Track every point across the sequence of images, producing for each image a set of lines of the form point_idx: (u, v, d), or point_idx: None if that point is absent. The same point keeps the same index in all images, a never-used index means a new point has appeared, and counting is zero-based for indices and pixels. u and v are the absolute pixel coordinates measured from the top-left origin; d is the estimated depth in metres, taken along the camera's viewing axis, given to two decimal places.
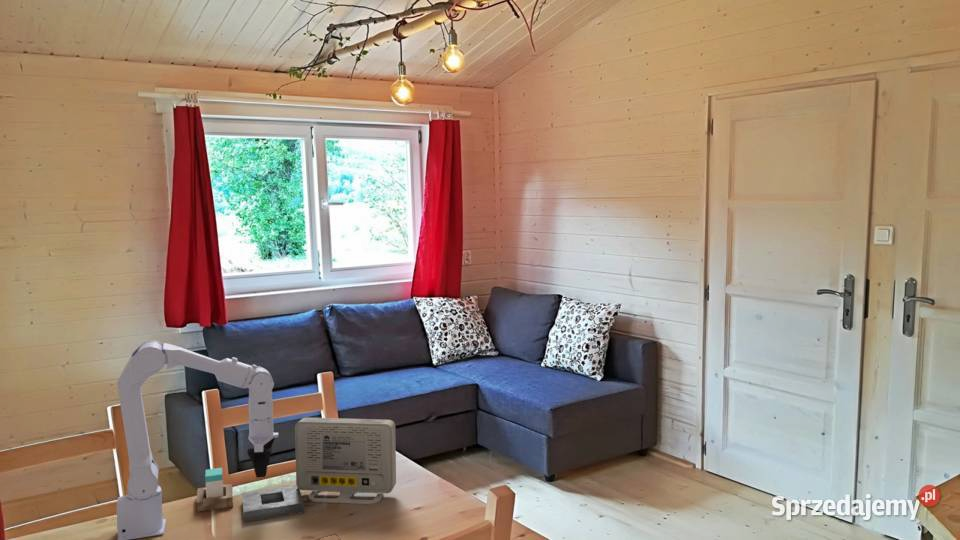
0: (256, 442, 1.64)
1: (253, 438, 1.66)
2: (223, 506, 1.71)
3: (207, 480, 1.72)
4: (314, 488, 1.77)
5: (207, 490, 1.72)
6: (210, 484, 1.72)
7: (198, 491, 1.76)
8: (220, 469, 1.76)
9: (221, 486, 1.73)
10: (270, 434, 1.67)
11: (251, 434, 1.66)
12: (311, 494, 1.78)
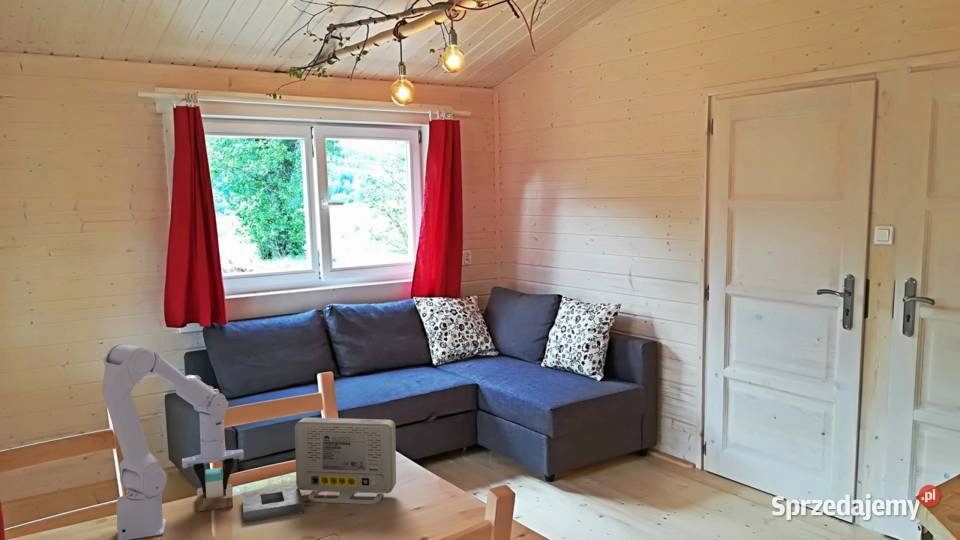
0: None
1: None
2: (223, 506, 1.71)
3: (207, 480, 1.72)
4: (314, 488, 1.77)
5: (208, 490, 1.72)
6: (210, 484, 1.72)
7: (198, 491, 1.76)
8: (220, 469, 1.76)
9: (221, 486, 1.73)
10: (207, 457, 1.71)
11: None
12: (311, 494, 1.78)
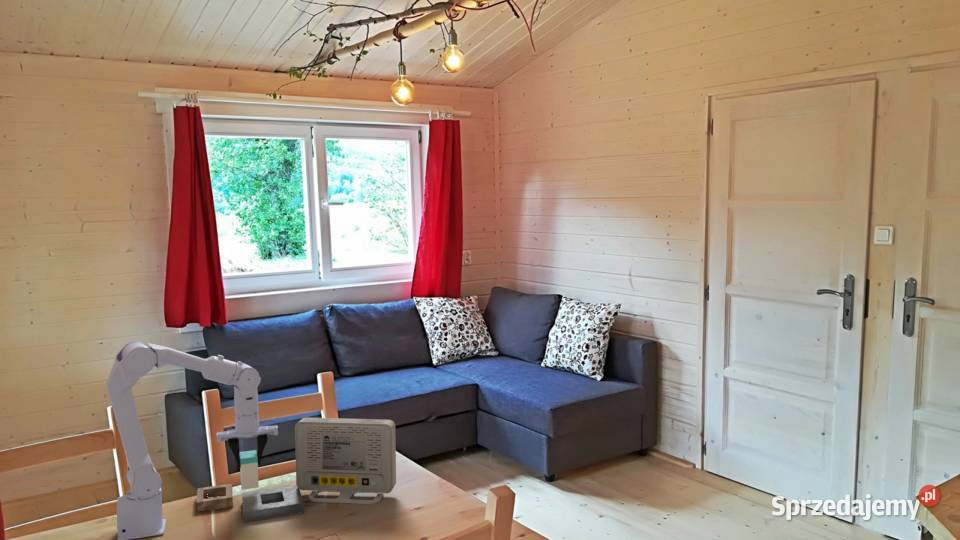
0: None
1: None
2: (223, 506, 1.71)
3: (242, 462, 1.69)
4: (314, 488, 1.77)
5: (243, 473, 1.70)
6: (245, 466, 1.70)
7: (198, 491, 1.76)
8: (254, 451, 1.74)
9: (256, 468, 1.71)
10: (240, 431, 1.69)
11: None
12: (311, 494, 1.78)
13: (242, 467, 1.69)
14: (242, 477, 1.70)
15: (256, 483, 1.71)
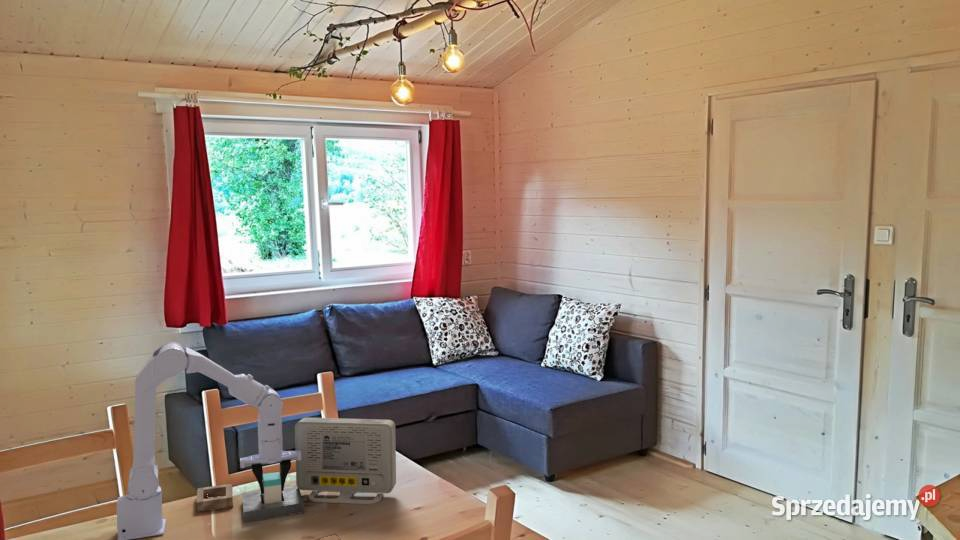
0: (250, 458, 1.69)
1: None
2: (223, 506, 1.71)
3: (266, 485, 1.68)
4: (314, 488, 1.77)
5: (266, 495, 1.68)
6: (269, 489, 1.69)
7: (198, 491, 1.76)
8: (277, 473, 1.73)
9: (279, 491, 1.70)
10: (264, 457, 1.68)
11: None
12: (311, 494, 1.78)
13: (265, 490, 1.68)
14: (265, 500, 1.68)
15: None
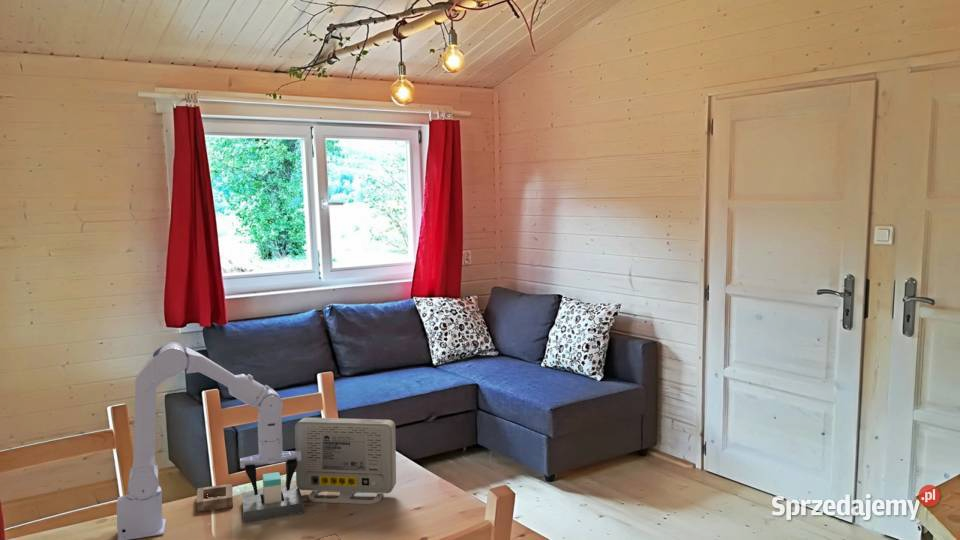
0: None
1: None
2: (223, 506, 1.71)
3: (266, 485, 1.68)
4: (314, 488, 1.77)
5: (266, 495, 1.68)
6: (268, 489, 1.69)
7: (198, 491, 1.76)
8: (277, 473, 1.73)
9: (279, 491, 1.70)
10: (264, 457, 1.68)
11: None
12: (311, 494, 1.78)
13: (265, 490, 1.68)
14: (265, 500, 1.68)
15: None
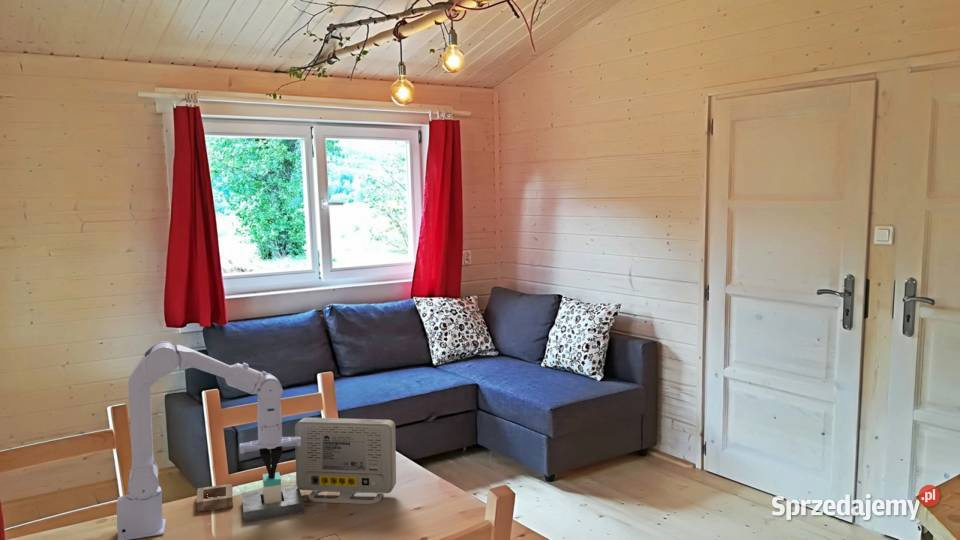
0: None
1: None
2: (223, 506, 1.71)
3: (266, 485, 1.68)
4: (314, 488, 1.77)
5: (266, 495, 1.68)
6: (268, 489, 1.69)
7: (198, 491, 1.76)
8: (277, 473, 1.73)
9: (279, 491, 1.70)
10: (263, 443, 1.67)
11: None
12: (311, 494, 1.78)
13: (265, 490, 1.68)
14: (265, 500, 1.68)
15: None
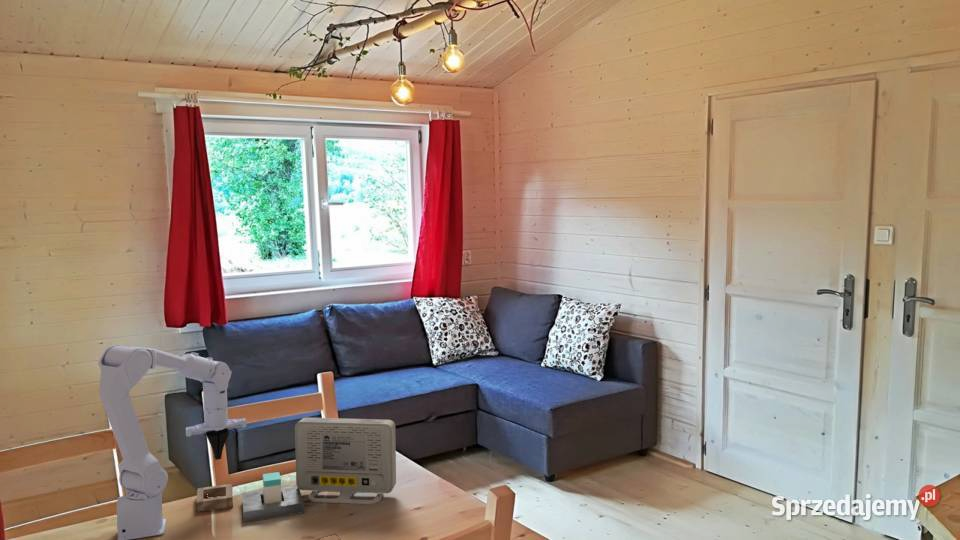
0: (195, 427, 1.75)
1: None
2: (223, 506, 1.71)
3: (266, 485, 1.68)
4: (314, 488, 1.77)
5: (266, 495, 1.68)
6: (268, 489, 1.69)
7: (198, 491, 1.76)
8: (277, 473, 1.73)
9: (279, 491, 1.70)
10: (211, 425, 1.74)
11: None
12: (311, 494, 1.78)
13: (265, 490, 1.68)
14: (265, 500, 1.68)
15: None
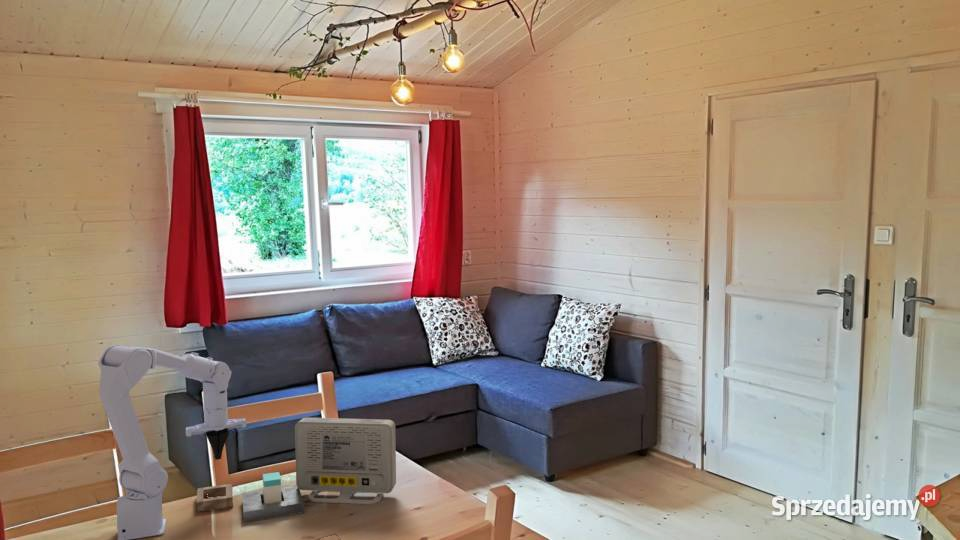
0: (195, 427, 1.75)
1: None
2: (223, 506, 1.71)
3: (266, 485, 1.68)
4: (314, 488, 1.77)
5: (266, 495, 1.68)
6: (268, 489, 1.69)
7: (198, 491, 1.76)
8: (277, 473, 1.73)
9: (279, 491, 1.70)
10: (211, 425, 1.74)
11: None
12: (311, 494, 1.78)
13: (265, 490, 1.68)
14: (265, 500, 1.68)
15: None
